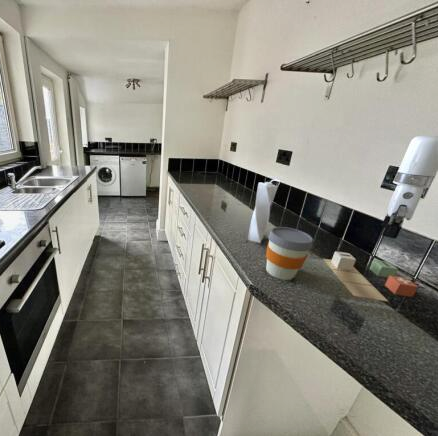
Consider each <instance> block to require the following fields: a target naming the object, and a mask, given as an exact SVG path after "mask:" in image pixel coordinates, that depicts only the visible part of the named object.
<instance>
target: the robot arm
mask: <svg viewBox="0 0 438 436" xmlns="http://www.w3.org/2000/svg"><path fill="white" fill-rule="evenodd" d="M437 173H438V135H416V136H414V137H413V138H412V139H411V141H410V143H409V145H408V147H407V149H406V152H405V154H404V156H403V158H402V160H401V163H400V165H399V167H398V170H397V172H396V174H395V177H394V179H393V181H392V183H393V184H395V185H396V186H395V189H394V191H393V194H392V196H391V197H390V201H389V204H388V207H387V210H386V211H387V212H386V215H385V217H384V218H383V221H382V223H381V226H380V227H381V228H383V231H382V233H381V236H383V237H385V238H390V239H397V238H398V236H399V234H400V232H401V230H402V227H403V224H404V221H405V219H406V221H411V220H412V218H413V217H414V214H415V211H416V209H417V207H418V204H419V203H420V200H421V198H422V195H423V192H424V189H429V188H430V187H431V185H432V183H433V182H434V179H435V177H436V175H437Z"/></svg>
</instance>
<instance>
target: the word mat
mask: <svg viewBox="0 0 438 436" xmlns="http://www.w3.org/2000/svg"><path fill="white" fill-rule="evenodd" d="M322 259H323V261H324V262H325V264H326V265H327V266H328V267H329V268H330V269H331V271H332V272H333V273H334V274H335V275H336V277H337V278H338V279H339V281H341V283H342V284H343V285H344V287H346V289H347V290H348V291H349V292H350V293H351V294H352V296H353V297H358V298H359V297H360V298H363V299H370V300H376V301H383V302H388V303H389V301H390V300H388V299H387V298H386V297H385V296H384V295H383V294H382V293H381V292H380V291H379V290H378V289H377V288H376V287H375V286H374V285H373V284H372V283H371V282H370V281H369V280H368V279H367V278H366V277H364V275H363V274H361V272H360V271H359V270H358V269H357V268H356V267H355V266H353V268H352V270H345V269H338V268H336V267H335V266H334V265H333V263H332V262H331V261H332V259H328V258H322Z"/></svg>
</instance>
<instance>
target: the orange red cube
mask: <svg viewBox="0 0 438 436" xmlns="http://www.w3.org/2000/svg"><path fill="white" fill-rule="evenodd" d="M384 286H385V287H386V288H387V289H388V290H389V291H391V292H392V293H393V295H398V296H404V297H409V298H413V297H414V295H415V294H416V291H417V290H418V288H419V286H418V285H417V284H415V283H414V282H413V281H412V280H410V279H409V278H408V277H405V276H404V277H402V276H396V275H395V276H389V278H388V277H387V280H386V282H385V284H384Z"/></svg>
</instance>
